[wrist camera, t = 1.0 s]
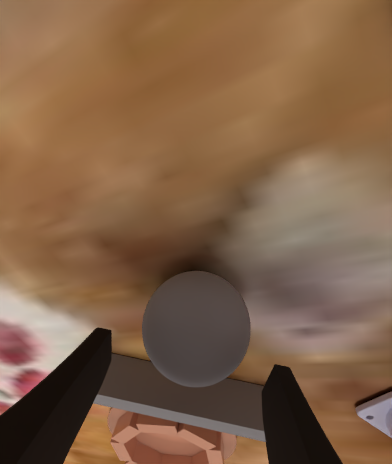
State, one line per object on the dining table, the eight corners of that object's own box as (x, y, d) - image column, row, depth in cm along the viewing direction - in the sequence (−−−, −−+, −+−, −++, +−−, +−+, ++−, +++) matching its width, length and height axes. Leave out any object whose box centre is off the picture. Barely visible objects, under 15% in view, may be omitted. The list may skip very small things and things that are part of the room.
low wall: (287, 391, 18) (298, 438, 16) (282, 400, 19) (291, 447, 16) (84, 347, 19) (60, 386, 16) (85, 357, 19) (62, 396, 17)
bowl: (264, 435, 21) (268, 464, 19) (185, 472, 26) (182, 498, 24) (152, 370, 19) (144, 396, 17) (89, 423, 24) (78, 448, 22)
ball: (265, 287, 14) (285, 378, 9) (208, 334, 17) (200, 427, 12) (192, 233, 13) (171, 304, 8) (142, 291, 16) (103, 373, 11)
